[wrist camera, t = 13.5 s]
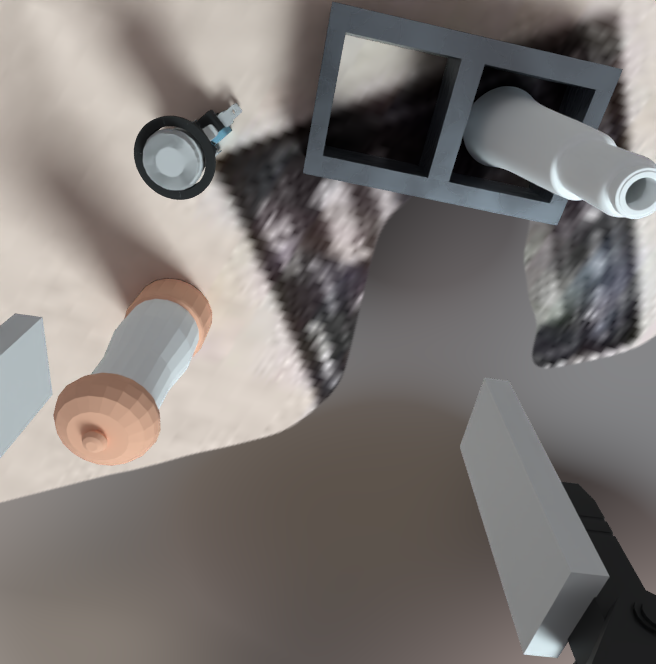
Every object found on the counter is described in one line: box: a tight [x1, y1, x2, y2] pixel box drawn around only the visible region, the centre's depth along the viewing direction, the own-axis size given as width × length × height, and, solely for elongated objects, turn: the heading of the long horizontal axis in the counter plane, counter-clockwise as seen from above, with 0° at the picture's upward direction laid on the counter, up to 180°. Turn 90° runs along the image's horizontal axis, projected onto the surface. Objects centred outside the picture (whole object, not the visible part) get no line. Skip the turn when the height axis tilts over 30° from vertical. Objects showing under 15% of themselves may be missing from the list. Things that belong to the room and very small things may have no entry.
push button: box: [134, 103, 242, 200], centre depth 38 cm, size 7×5×10 cm
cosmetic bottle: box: [463, 86, 656, 219], centre depth 32 cm, size 6×6×22 cm
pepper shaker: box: [54, 279, 212, 466], centre depth 42 cm, size 7×7×19 cm
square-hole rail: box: [303, 2, 623, 225], centre depth 39 cm, size 20×11×5 cm, turn 79°
